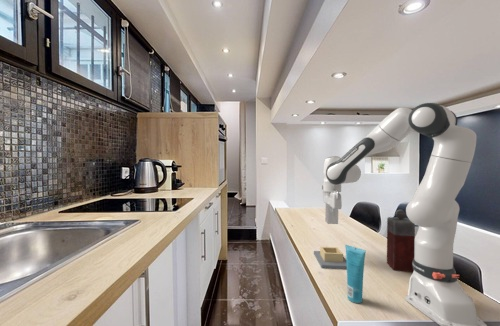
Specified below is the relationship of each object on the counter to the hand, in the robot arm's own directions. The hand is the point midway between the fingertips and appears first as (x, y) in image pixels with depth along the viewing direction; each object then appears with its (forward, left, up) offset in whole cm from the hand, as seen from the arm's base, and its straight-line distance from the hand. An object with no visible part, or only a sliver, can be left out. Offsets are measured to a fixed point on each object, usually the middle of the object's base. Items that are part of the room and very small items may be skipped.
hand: (331, 214), depth 119 cm
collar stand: (0, 0, -24) cm, 24 cm away
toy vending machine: (-3, -32, -24) cm, 40 cm away
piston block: (0, 0, -4) cm, 4 cm away
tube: (-34, +1, -24) cm, 42 cm away
